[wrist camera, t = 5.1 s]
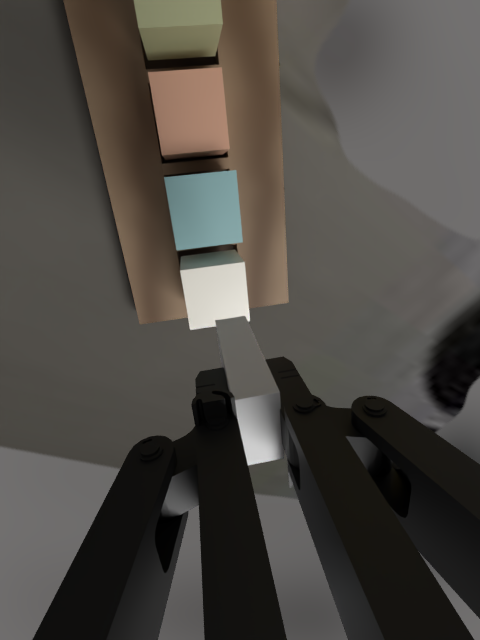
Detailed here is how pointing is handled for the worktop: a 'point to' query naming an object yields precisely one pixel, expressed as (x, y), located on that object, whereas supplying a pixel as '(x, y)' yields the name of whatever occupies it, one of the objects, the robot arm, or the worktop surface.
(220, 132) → the key terracotta
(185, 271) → the key cream
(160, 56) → the key olive
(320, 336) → the worktop surface
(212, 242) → the key teal
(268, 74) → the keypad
